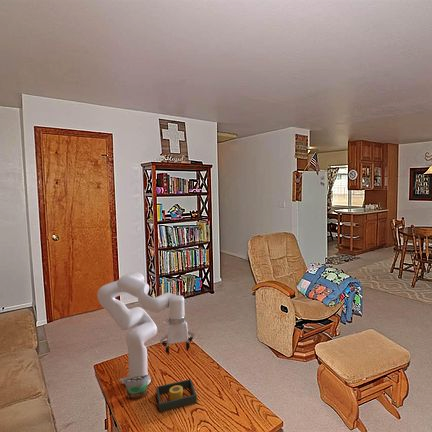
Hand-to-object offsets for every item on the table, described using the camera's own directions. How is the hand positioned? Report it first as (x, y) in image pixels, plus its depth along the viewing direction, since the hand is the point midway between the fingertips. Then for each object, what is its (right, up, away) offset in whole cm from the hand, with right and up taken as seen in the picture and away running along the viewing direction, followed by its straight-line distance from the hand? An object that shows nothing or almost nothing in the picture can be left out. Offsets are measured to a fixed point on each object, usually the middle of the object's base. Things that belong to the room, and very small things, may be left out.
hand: (177, 351), depth 177 cm
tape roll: (0, -23, -2) cm, 23 cm away
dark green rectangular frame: (0, -23, -2) cm, 24 cm away
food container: (-20, -23, -1) cm, 31 cm away
